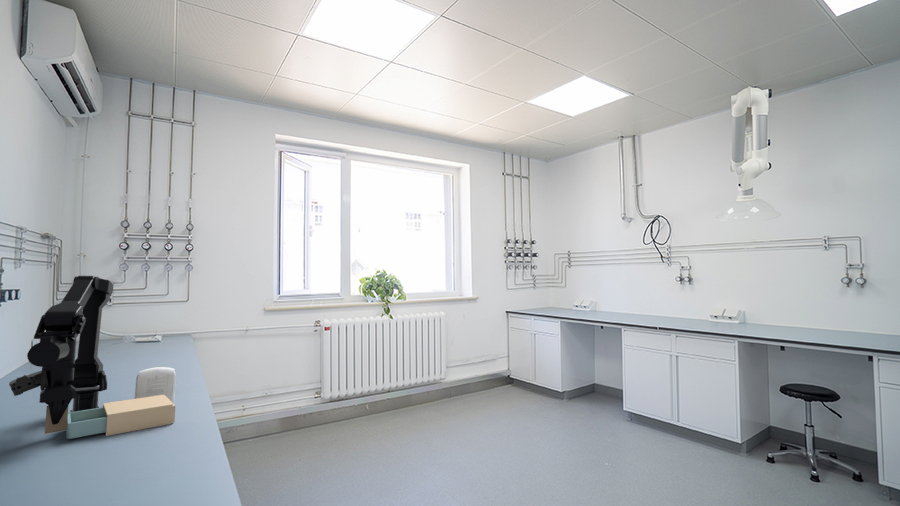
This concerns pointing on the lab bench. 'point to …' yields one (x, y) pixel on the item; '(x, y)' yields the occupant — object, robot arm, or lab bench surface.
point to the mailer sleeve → (138, 414)
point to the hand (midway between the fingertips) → (55, 423)
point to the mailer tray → (78, 422)
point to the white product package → (156, 383)
